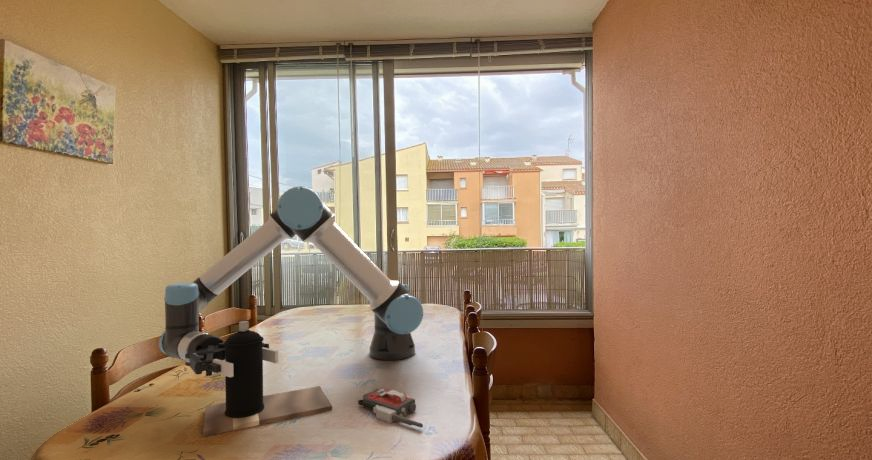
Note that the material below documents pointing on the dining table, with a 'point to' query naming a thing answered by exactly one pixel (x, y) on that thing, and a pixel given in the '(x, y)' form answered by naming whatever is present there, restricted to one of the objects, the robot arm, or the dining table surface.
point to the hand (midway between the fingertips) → (255, 363)
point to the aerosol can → (244, 373)
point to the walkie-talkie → (390, 406)
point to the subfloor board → (268, 410)
